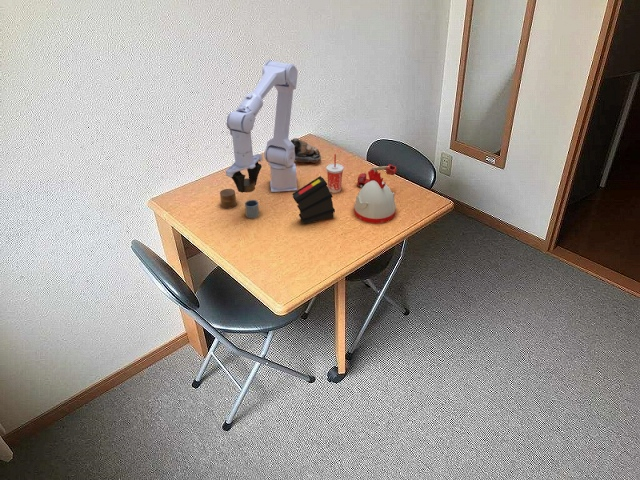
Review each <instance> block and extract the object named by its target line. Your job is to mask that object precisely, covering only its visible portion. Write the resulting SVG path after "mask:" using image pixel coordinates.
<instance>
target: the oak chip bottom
mask: <svg viewBox="0 0 640 480" xmlns="http://www.w3.org/2000/svg"><path fill="white" fill-rule="evenodd" d="M220 204H221V207H222V208H223V209H233V208H234V207H236V206H237V198H236V199H235V200H234V201H232V202H223V201H221V200H220Z"/></svg>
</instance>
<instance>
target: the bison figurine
mask: <svg viewBox="0 0 640 480" xmlns="http://www.w3.org/2000/svg"><path fill="white" fill-rule="evenodd" d="M290 141H291V142H292V143H293V144H294V146H295V160H294V162H296V163H297V162H298V163H299V162H300V163H313V164H316V163H318V162H319V161H320V160H321V159H322V155H321V152H320V150H319V149H318V148H317V147H316V146H312V145H310V144H309V143H308V142H306V141H305V140H303V139H299V138H297V137H293V138H292V139H290Z"/></svg>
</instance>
